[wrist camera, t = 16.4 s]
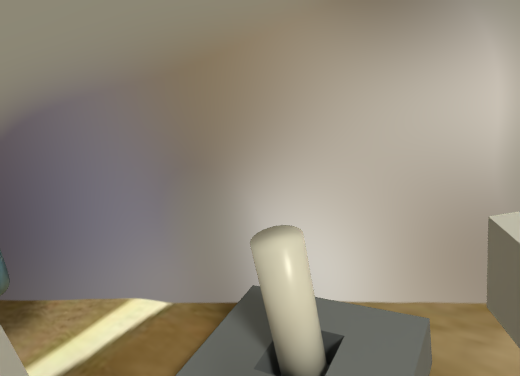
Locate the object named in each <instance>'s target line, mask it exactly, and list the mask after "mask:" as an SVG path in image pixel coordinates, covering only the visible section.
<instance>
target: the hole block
mask: <svg viewBox="0 0 520 376" xmlns="http://www.w3.org/2000/svg"><path fill="white" fill-rule="evenodd" d="M315 301H316V307H317V312H318V318H319V323H320V329H321V334H322V340H323V346H324V351H325V357H326V362H327V368H328V371H327V373H326V375H325V376H429V374H430V369H431V365H432V354H431V337H430V321H429V318H424V317H418V316H413V315H408V314H402V313H397V312H392V311H387V310H381V309H376V308H371V307H365V306H360V305H355V304H349V303H344V302H339V301H334V300H328V299H323V298H317V297H315ZM176 376H281V372H280V368H279V363H278V359H277V355H276V351H275V347H274V342H273V338H272V334H271V330H270V326H269V321H268V317H267V313H266V309H265V305H264V300H263V296H262V292H261V288H260V287H259V286H254V285H253V286H252V287H251V288H250V289H249V291H248V292H247V293H246V294H245V295H244V297H243V298H242V299H241V300H240V301H239V302H238V303H237V305H236V306H235V307H234V308H233V309H232V310H231V312H230V313H229V314H228V315H227V316H226V318H225V319H224V320H223V321H222V322H221V323H220V325H219V326H218V327H217V328H216V329H215V330H214V332H213V333H212V334H211V335H210V336H209V337H208V339H207V340H206V341H205V342H204V343H203V344H202V346H201V347H200V348H199V349H198V350H197V351H196V353H195V354H194V355H193V356H192V357H191V358H190V360H189V361H188V362H187V363H186V364H185V365H184V367H183V368H182V369H181V370H180V371H179V372H178V374H177V375H176Z"/></svg>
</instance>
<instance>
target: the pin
mask: <svg viewBox="0 0 520 376" xmlns="http://www.w3.org/2000/svg"><path fill="white" fill-rule="evenodd" d="M250 245H251V250H252V254H253V258H254V263H255V267H256V271H257V275H258V279H259V284H260V288H261V292H262V296H263V300H264V305H265V309H266V313H267V317H268V321H269V326H270V330H271V334H272V338H273V342H274V347H275V351H276V355H277V359H278V363H279V368H280V372H281V376H325V375H326V373H327V371H328V368H327V362H326V357H325V351H324V346H323V340H322V334H321V329H320V323H319V318H318V312H317V307H316V301H315V296H314V290H313V285H312V279H311V274H310V268H309V263H308V257H307V252H306V246H305V241H304V236H303V232H302V231H301V229H299V228H297V227H294V226H288V225H281V226H274V227H270V228H267V229H264V230H262V231H260V232H258V233H257V234H256V235H254V237H253V238H252V239H251V241H250Z"/></svg>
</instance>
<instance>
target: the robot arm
mask: <svg viewBox="0 0 520 376" xmlns="http://www.w3.org/2000/svg"><path fill="white" fill-rule="evenodd" d="M9 282H10V279H9V275H8V271H7V268H6V265H5V262H4V259H3V256H2V253H1V250H0V296H1V295H2V294H3V293H4V292H5V291H6V290H7V289H8V286H9ZM487 308H488V309H489V310H490V312H491V313H492V314H493V315H494V317H495V318H496V319H497V320H498V322H499V323H500V324H501V325H502V327H503V328H504V329H505V330H506V332H507V333H508V334H509V336H510V337H511V338H512V339H513V341H514V342H515V343H516V344H517V346H518V347H519V348H520V211H519V212H513V213H507V214H501V215H495V216H489V221H488V268H487ZM0 376H29V375H28V373H27V372H26V370H25V368H24V366H23V364H22V363H21V361H20V359H19V357H18V355H17V354H16V352H15V350H14V348H13V346H12V345H11V343H10V341H9V339H8V337H7V336H6V334H5V332H4V330H3V328H2V327H1V325H0Z"/></svg>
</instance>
